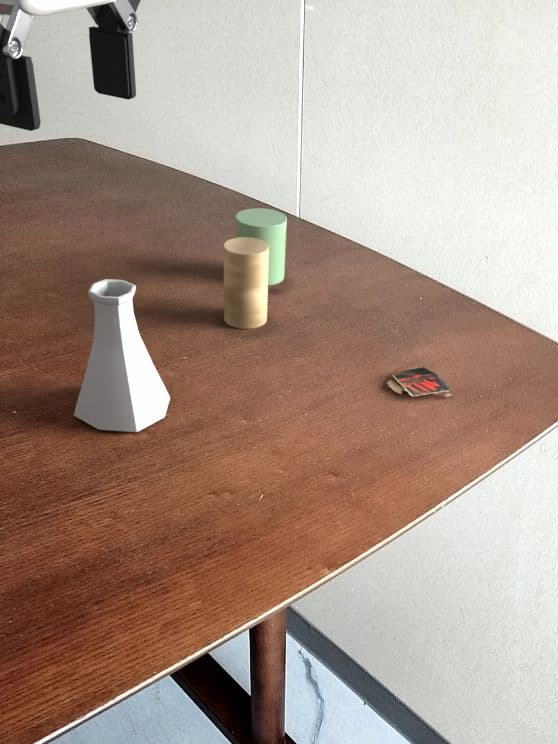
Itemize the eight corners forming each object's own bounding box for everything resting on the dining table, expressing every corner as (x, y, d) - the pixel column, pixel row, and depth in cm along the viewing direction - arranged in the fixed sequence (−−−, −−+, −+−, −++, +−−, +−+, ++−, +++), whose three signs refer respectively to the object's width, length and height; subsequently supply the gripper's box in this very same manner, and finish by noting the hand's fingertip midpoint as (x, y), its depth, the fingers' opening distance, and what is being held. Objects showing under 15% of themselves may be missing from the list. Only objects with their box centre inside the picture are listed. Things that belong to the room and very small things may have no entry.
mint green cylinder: (231, 283, 86) (232, 223, 83) (239, 264, 90) (240, 205, 86) (281, 288, 86) (283, 228, 82) (287, 268, 90) (289, 210, 86)
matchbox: (419, 366, 75) (420, 361, 75) (460, 393, 72) (461, 388, 72) (378, 380, 73) (379, 375, 73) (418, 408, 70) (419, 403, 70)
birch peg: (220, 326, 79) (220, 252, 75) (227, 307, 82) (227, 235, 78) (263, 330, 79) (265, 256, 75) (269, 311, 82) (271, 239, 78)
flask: (142, 444, 64) (132, 319, 58) (57, 421, 66) (38, 297, 59) (185, 398, 69) (181, 278, 63) (106, 378, 71) (93, 260, 65)
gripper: (79, -231, 53) (105, 77, 64) (-156, -256, 41) (-74, 128, 52) (181, -226, 51) (190, 94, 62) (-37, -251, 39) (23, 152, 50)
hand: (69, 109), depth 57 cm, fingers open, 9 cm apart
